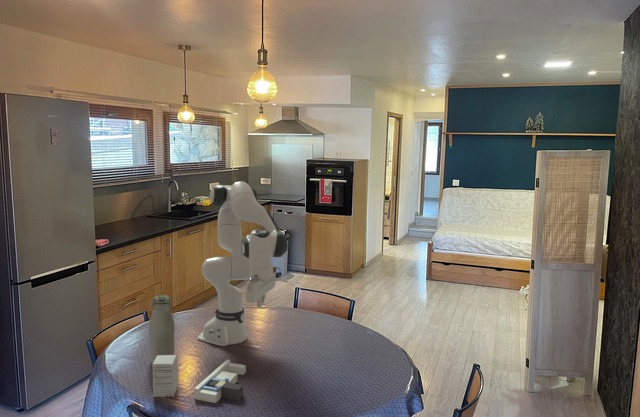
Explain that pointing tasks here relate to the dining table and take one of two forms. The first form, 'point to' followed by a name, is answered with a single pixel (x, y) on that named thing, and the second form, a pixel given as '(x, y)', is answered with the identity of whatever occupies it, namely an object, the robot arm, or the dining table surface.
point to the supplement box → (165, 375)
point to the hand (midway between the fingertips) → (260, 305)
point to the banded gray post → (228, 389)
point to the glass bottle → (161, 327)
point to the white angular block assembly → (222, 373)
